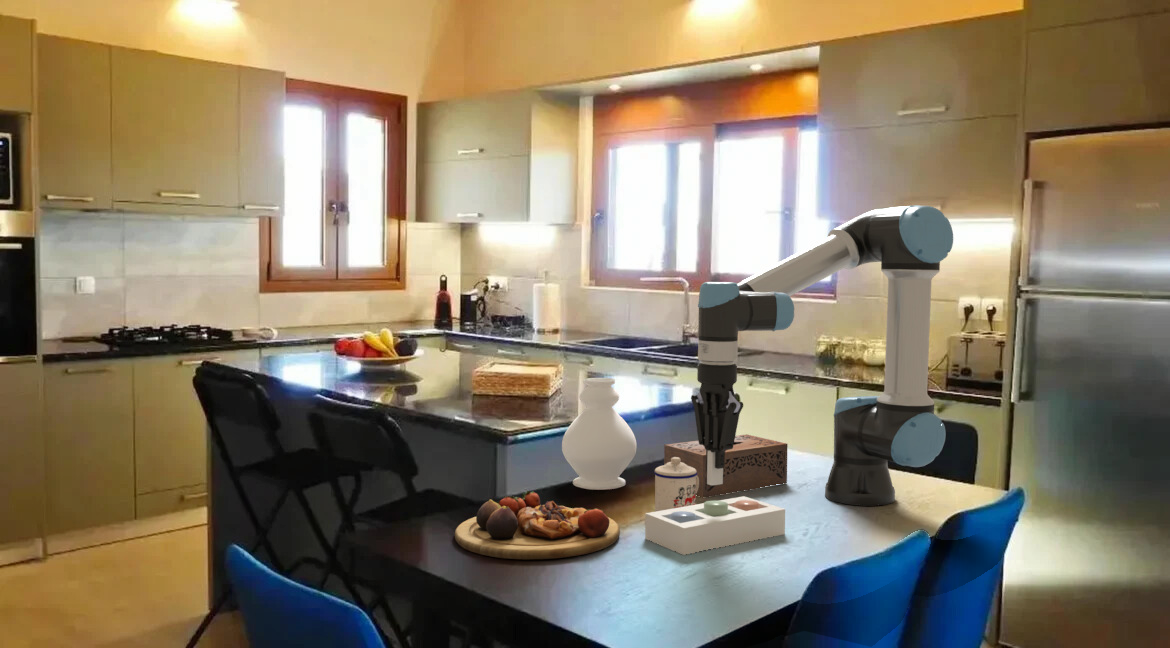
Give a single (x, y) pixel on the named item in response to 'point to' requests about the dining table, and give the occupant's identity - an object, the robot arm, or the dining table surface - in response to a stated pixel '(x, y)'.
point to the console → (714, 527)
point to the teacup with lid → (675, 485)
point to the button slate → (682, 516)
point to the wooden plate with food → (535, 529)
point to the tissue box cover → (736, 464)
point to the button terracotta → (746, 505)
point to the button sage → (715, 508)
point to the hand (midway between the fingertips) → (714, 483)
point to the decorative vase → (599, 439)
